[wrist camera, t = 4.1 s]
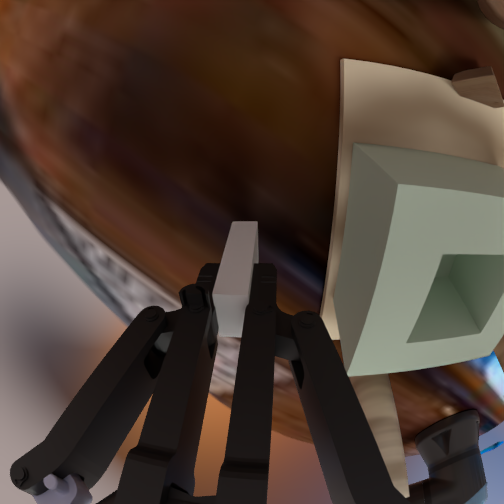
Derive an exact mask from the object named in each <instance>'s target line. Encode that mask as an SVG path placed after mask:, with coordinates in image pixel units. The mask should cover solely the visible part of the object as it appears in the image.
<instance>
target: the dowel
mask: <svg viewBox="0 0 504 504" xmlns="http://www.w3.org/2000/svg"><path fill="white" fill-rule="evenodd" d="M350 381H351V384H352V386H353V388H354V391H355V393H356V395H357V397H358V400H359V402H360V404H361V407H362V409H363V411H364V414H365V416H366V419H367V421H368V423H369V426H370V428H371V430H372V433H373V435H374V438H375V440H376V443H377V445H378V447H379V450H380V452H381V455H382V457H383V460H384V462H385V465H386V467H387V470H388V473H389V475H390V478H391V480H392V483H393V485H394V487H395V488H396V489H397V490H398V491H399V492H400V493H401V494H402V495H403V496H404V497H405V498H407V497H409V487H408V478H407V470H406V463H405V456H404V450H403V444H402V438H401V432H400V427H399V421H398V416H397V411H396V407H395V402H394V397H393V393H392V388H391V384H390V380H389V376H388V373H385V374H375V375H363V376H350Z"/></svg>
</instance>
